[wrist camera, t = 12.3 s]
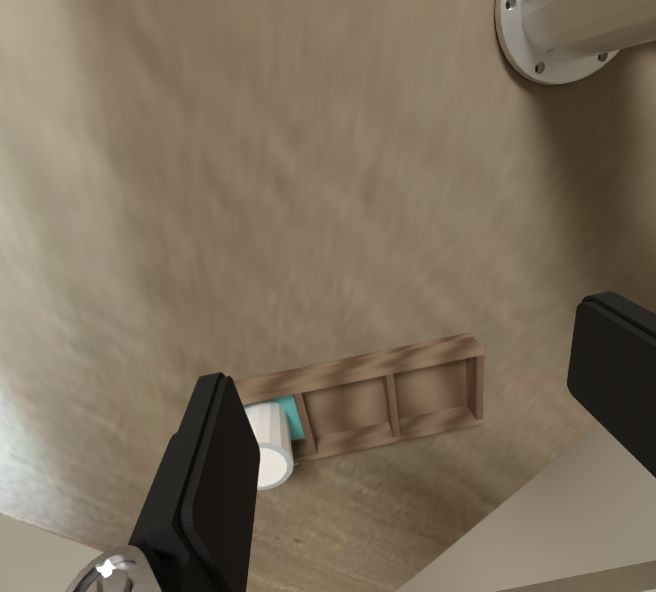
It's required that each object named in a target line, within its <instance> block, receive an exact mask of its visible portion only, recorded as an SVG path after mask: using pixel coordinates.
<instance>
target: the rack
mask: <svg viewBox="0 0 656 592" xmlns="http://www.w3.org/2000/svg"><path fill="white" fill-rule="evenodd" d="M483 378H484V348H483V347H482V346H481V345H480V344H479V343H478V342H477V341H476V339H475V338H474V337H473V336H472V335H471V334H470V333H467V334H462V335H457V336H453V337H448V338H443V339H438V340H433V341H428V342H423V343H419V344H414V345H409V346H404V347H399V348H394V349H390V350H385V351H380V352H375V353H370V354H365V355H360V356H356V357H351V358H346V359H341V360H336V361H331V362H327V363H322V364H317V365H312V366H307V367H302V368H297V369H293V370H288V371H283V372H278V373H273V374H268V375H264V376H259V377H254V378H249V379H244V380H239V381H234V384H235V387H236V389H237V392H238V394H239V397H240V399H241V402H242V404H243V407H246V406H247V405H249V404H250V403H255V402H260V401H265V400H271V401H273V402H276V403H278V404H280V405H281V406H282V407H283V408H284V409H285V411H286V414H287V417H288V424H289V432H290V440H291V447H292V455H293V465H298V464H299V463H300V462H304V461H309V460H314V459H318V458H323V457H328V456H333V455H337V454H342V453H347V452H351V451H356V450H361V449H365V448H370V447H375V446H380V445H384V444H389V443H394V442H398V441H403V440H408V439H412V438H417V437H422V436H427V435H431V434H436V433H441V432H445V431H450V430H455V429H459V428H464V427H469V426H474V425H478V424H483Z"/></svg>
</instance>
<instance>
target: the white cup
mask: <svg viewBox="0 0 656 592" xmlns="http://www.w3.org/2000/svg"><path fill="white" fill-rule="evenodd" d="M244 409H245V412H246V414H247V417H248V419H249V422H250V425H251V427H252V430H253V432H254V435H255V437H256V440H257V442H258V445H259V448H260V467H259V476H258V486H257V490H266V489H270V488H274V487H277V486H278V485H280V484H281V483H283V482H285V481H286V480H287V479H288V477H289V476H290V475H291V473H292V470H293V455H292V447H291V440H290V432H289V424H288V417H287V414H286V411H285V409H284V408H283V407H282V406H281V405H280V404H278V403H276V402H273V401H271V400H265V401H260V402H255V403H250V404H249V405H247V406H246V407H244Z"/></svg>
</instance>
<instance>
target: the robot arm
mask: <svg viewBox="0 0 656 592" xmlns="http://www.w3.org/2000/svg"><path fill="white" fill-rule="evenodd" d="M505 4H507V8H506V5H505ZM495 19H496V30H497V34H498V38H499V42H500V46H501V48H502V50H503V52H504V54H505V56H506V58H507V60H508V61H509V63H510V64H511V65H512V66H513V68H514V69H515V70H516V71H517V72H518V73H520V74H521V75H522V76H523V77H525V78H526V79H529V80H531V81H533V82H536V83H540V84H546V85H556V84H565V83H569V82H574V81H577V80H579V79H582V78H584V77H587V76H589V75H591V74H592V73H594V72H595V71H597V70H599V69H600V68H602V67H603V66H604V65H605V64H606V63H608V62H609V61H610V60H611V59H612V58H613V57H614V56H615V55H616V54H617V53H618V52H619V51H620V50H621V49H624V48H628V47H632V46H636V45H640V44H644V43H648V42H652V41H656V0H496V5H495ZM535 68H536V70H535ZM567 386H568V389H569V391H570V393H571V394H572V396H573V397H574V398H575V399H576V400H577V401H578V402H579V403H580V404H581V405H582V406H583V407H584V408H585V409H586V410H587V411H588V412H589V413H590V414H591V415H592V416H593V417H595V418H596V419H597V420H598V421H599V422H600V423H601V424H602V425H603V426H604V427H605V428H606V429H607V430H608V431H609V432H610V433H611V434H612V435H613V436H614V437H615V438H616V439H617V440H618V441H619V442H620V443H621V444H622V445H623V446H624V447H625V448H626V449H627V450H628V451H629V452H630V453H631V454H632V455H633V456H634V457H635V458H636V459H637V460H638V461H639V462H640V463H641V464H642V465H643V466H644V467H645V468H646V469H647V470H648V471H649V472H650V473H651V474H652V475H653V476H654V477H655V478H656V314H654V313H652V312H650V311H648V310H646V309H644V308H643V307H641V306H639V305H637V304H635V303H633V302H631V301H629V300H627V299H626V298H624V297H622V296H620V295H618V294H616V293H614V292H605V293H600V294H595V295H590V296H587V297H585V298H584V299H583V300H582V303H580V304H579V305H578V306H577V310H576V318H575V325H574V333H573V340H572V348H571V355H570V363H569V370H568V378H567ZM259 467H260V448H259V445H258V442H257V440H256V437H255V435H254V432H253V430H252V427H251V425H250V422H249V419H248V417H247V414H246V412H245V409H244V407H243V404H242V402H241V399H240V397H239V394H238V392H237V389H236V387H235V384H234V382H233V379H232V378H231V377H230V376H227V377H225V375H224V374H223V373H221V372H219V373H215V374H210V375H205V376H201V377H199V379H198V381H197V383H196V386H195V388H194V391H193V394H192V396H191V399H190V401H189V404H188V406H187V409H186V412H185V414H184V417H183V419H182V422H181V425H180V427H179V430H178V432H177V433H175V434H174V435H173V436H172V438H171V439H170V441H169V444H168V446H167V449H166V451H165V453H164V456H163V458H162V461H161V463H160V466H159V468H158V471H157V473H156V476H155V478H154V481H153V483H152V486H151V488H150V491H149V493H148V496H147V498H146V501H145V503H144V506H143V508H142V511H141V513H140V516H139V518H138V521H137V523H136V526H135V528H134V530H133V533H132V535H131V538H130V540H129V543H128V545H124V546H118V547H115V548H113V549H110V550H108V551H106V552H104V553H103V554H101V555H100V556H98V557H97V558H95V559H94V560H92V561H91V562H90V563H89V564H88V565H87V566H86V567H85V568H84V569H83V570H82V571H80V572H79V574H78V575H77V576H76V578H75V579H74V580H73V581H72V583H71V584H70V585H69V586H68V588H67V590H66V592H246V586H247V577H248V568H249V558H250V549H251V540H252V531H253V522H254V513H255V504H256V495H257V486H258V476H259ZM497 592H656V561H651V562H645V563H641V564H635V565H630V566H625V567H620V568H615V569H609V570H604V571H600V572H594V573H589V574H585V575H579V576H574V577H569V578H564V579H559V580H553V581H548V582H543V583H538V584H533V585H528V586H523V587H518V588H513V589H508V590H503V591H497Z"/></svg>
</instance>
